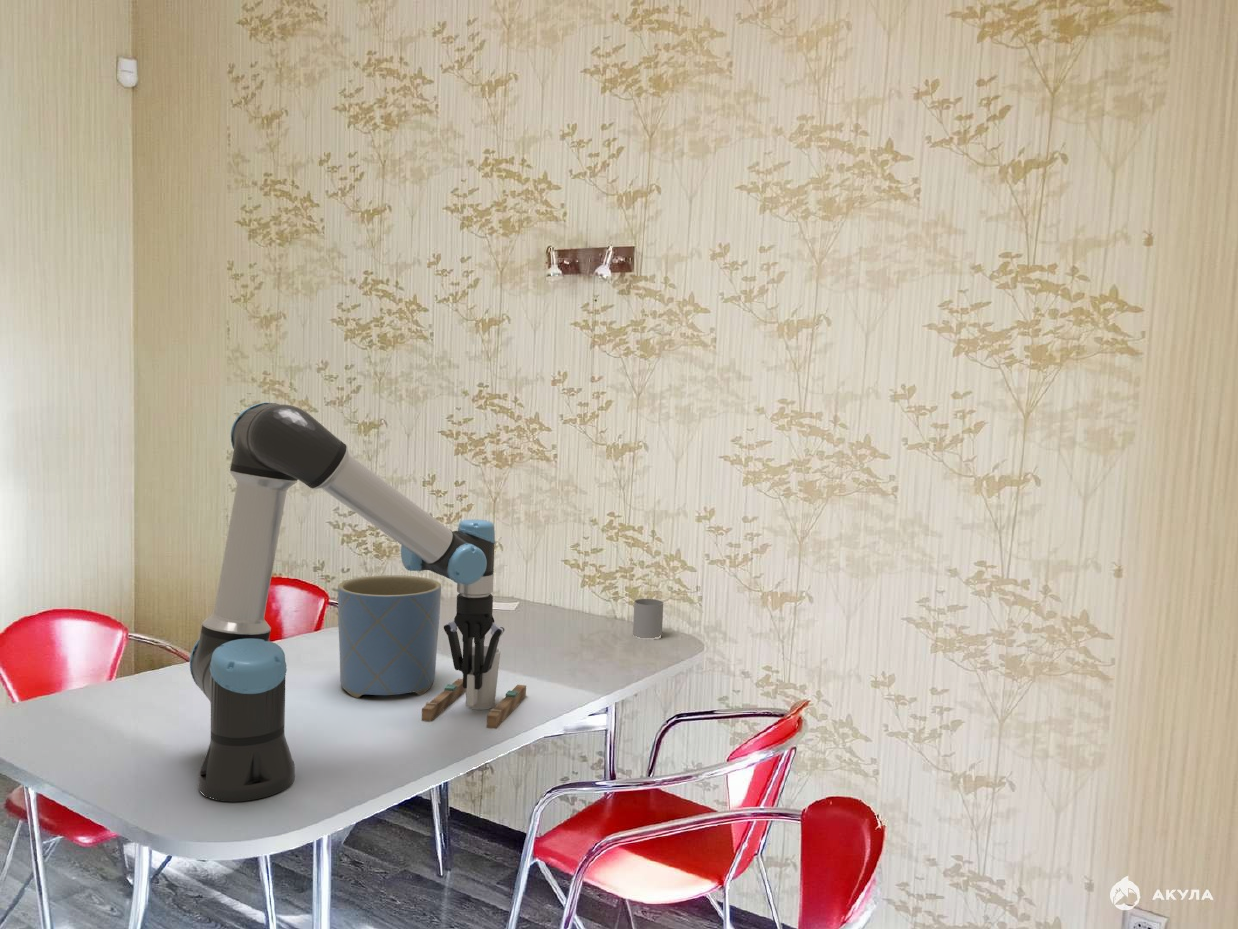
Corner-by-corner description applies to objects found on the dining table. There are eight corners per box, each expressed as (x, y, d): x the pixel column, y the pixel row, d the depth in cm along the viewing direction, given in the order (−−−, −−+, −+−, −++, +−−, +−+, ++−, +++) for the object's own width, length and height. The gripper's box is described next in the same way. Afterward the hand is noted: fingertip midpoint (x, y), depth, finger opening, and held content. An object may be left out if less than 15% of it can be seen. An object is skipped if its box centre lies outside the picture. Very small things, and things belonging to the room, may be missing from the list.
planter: (334, 705, 195) (336, 596, 194) (337, 673, 217) (339, 575, 216) (442, 699, 202) (445, 594, 200) (434, 669, 223) (437, 574, 222)
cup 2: (629, 638, 260) (630, 603, 259) (637, 631, 268) (638, 597, 267) (658, 641, 257) (659, 606, 257) (665, 634, 265) (666, 600, 265)
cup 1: (489, 713, 194) (490, 657, 193) (455, 707, 197) (456, 653, 196) (504, 701, 202) (506, 648, 201) (472, 696, 204) (473, 643, 203)
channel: (496, 728, 185) (496, 713, 185) (421, 720, 188) (421, 705, 188) (526, 696, 206) (526, 682, 206) (458, 689, 209) (458, 676, 209)
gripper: (510, 592, 195) (506, 701, 197) (452, 587, 197) (449, 695, 199) (499, 599, 188) (495, 712, 189) (438, 594, 190) (436, 706, 192)
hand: (471, 703), depth 194 cm, fingers closed
